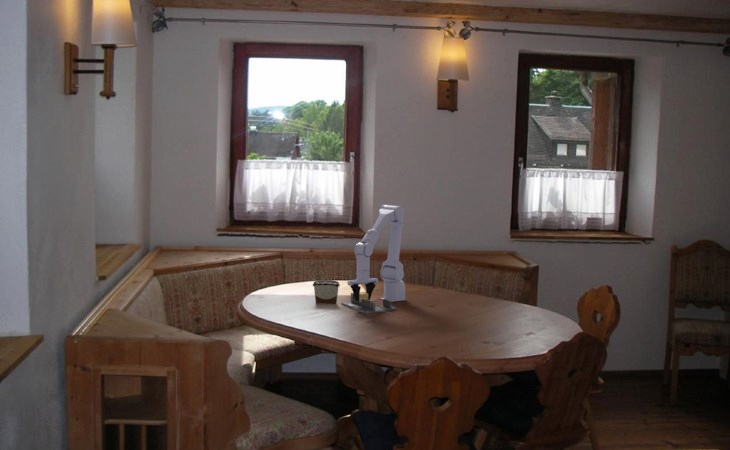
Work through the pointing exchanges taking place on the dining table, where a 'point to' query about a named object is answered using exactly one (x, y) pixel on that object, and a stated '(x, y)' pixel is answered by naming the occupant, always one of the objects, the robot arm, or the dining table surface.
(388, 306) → the grey finned base plate
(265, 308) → the dining table surface
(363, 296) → the clip
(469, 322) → the dining table surface
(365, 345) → the dining table surface
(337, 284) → the food container
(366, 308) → the rail
